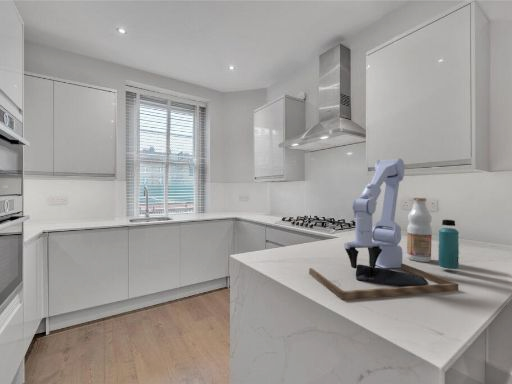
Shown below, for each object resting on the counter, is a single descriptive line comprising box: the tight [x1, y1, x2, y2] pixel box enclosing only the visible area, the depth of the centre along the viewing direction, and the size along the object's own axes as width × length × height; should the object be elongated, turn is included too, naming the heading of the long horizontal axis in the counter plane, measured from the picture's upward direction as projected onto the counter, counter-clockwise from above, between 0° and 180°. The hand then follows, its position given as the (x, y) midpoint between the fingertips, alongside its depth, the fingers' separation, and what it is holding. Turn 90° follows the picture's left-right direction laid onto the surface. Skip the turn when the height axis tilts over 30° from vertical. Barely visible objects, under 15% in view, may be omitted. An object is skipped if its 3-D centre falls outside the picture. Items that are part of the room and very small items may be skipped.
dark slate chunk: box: [355, 264, 429, 287], centre depth 89 cm, size 15×22×5 cm
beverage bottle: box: [437, 219, 460, 270], centre depth 100 cm, size 6×7×20 cm
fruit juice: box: [406, 197, 432, 263], centre depth 116 cm, size 9×9×28 cm
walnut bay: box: [308, 263, 459, 301], centre depth 87 cm, size 40×22×2 cm, turn 102°
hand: (363, 267), depth 95 cm, fingers open, 7 cm apart
